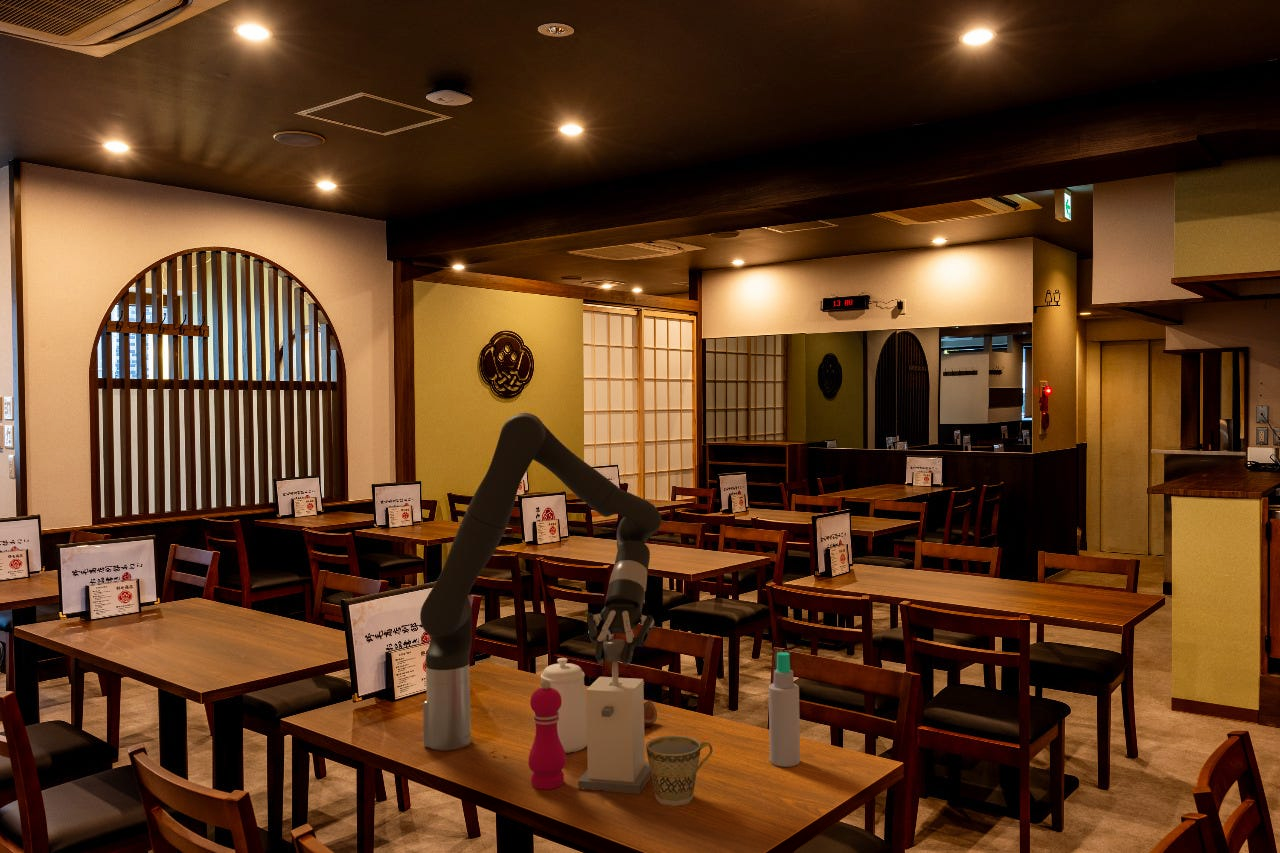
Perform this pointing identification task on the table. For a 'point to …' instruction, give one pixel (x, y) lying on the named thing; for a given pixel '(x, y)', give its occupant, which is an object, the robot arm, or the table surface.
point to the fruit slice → (649, 713)
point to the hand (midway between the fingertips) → (612, 662)
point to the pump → (613, 655)
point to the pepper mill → (546, 739)
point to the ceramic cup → (674, 767)
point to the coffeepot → (569, 703)
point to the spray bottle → (784, 715)
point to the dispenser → (615, 737)
